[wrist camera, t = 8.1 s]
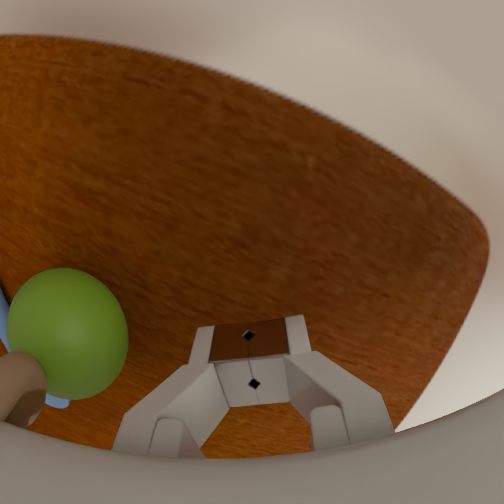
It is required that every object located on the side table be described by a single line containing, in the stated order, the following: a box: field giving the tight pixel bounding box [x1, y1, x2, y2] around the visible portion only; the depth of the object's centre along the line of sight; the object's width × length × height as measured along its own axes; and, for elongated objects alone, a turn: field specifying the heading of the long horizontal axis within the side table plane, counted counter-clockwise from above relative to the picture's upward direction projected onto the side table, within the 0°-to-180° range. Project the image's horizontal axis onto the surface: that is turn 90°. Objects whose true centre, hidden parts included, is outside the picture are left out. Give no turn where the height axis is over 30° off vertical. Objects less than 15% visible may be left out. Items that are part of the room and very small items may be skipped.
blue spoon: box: [0, 287, 71, 408], centre depth 12 cm, size 16×4×2 cm, turn 9°
